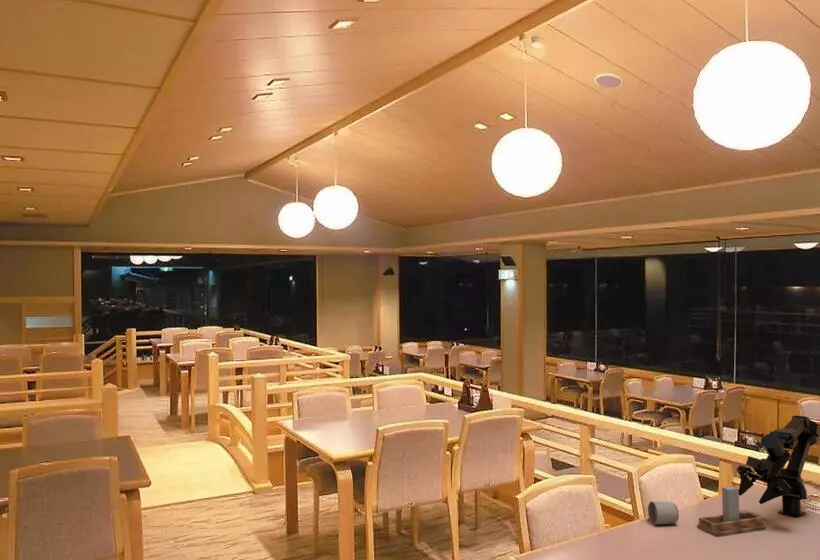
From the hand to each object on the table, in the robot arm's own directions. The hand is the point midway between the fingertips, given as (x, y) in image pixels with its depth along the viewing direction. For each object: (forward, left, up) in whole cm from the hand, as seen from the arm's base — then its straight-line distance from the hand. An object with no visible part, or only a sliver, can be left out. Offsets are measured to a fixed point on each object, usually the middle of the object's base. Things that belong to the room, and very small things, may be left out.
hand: (749, 499), depth 222 cm
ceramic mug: (+20, -21, -9) cm, 30 cm away
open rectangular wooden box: (+7, -3, -9) cm, 12 cm away
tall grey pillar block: (+7, -3, -8) cm, 11 cm away
